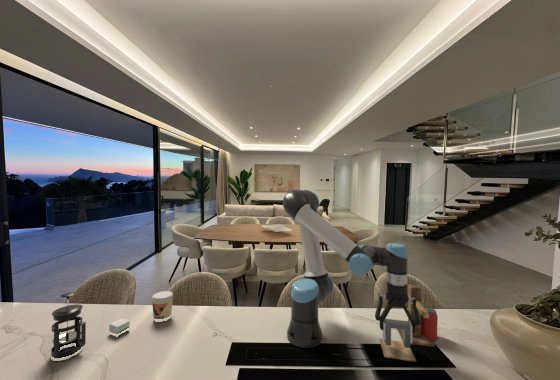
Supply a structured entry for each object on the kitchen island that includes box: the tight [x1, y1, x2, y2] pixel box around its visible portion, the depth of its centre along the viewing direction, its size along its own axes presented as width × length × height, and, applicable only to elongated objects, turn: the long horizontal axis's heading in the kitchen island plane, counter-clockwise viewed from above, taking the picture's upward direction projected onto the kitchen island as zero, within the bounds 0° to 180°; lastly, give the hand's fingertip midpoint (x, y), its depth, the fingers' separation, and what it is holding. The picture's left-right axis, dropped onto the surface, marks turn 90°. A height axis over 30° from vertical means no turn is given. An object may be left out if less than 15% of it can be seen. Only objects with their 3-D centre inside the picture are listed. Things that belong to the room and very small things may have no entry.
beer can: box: [421, 305, 439, 341], centre depth 107 cm, size 7×7×12 cm
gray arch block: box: [384, 318, 411, 349], centre depth 97 cm, size 9×3×9 cm, turn 77°
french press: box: [50, 291, 87, 358], centre depth 94 cm, size 12×9×23 cm
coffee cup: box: [151, 290, 174, 320], centre depth 119 cm, size 9×9×12 cm
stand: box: [396, 283, 436, 348], centre depth 103 cm, size 12×20×22 cm, turn 167°
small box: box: [108, 317, 131, 334], centre depth 107 cm, size 6×6×5 cm
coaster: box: [379, 338, 417, 363], centre depth 97 cm, size 11×11×1 cm
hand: (396, 339), depth 97 cm, fingers closed on gray arch block, 9 cm apart
